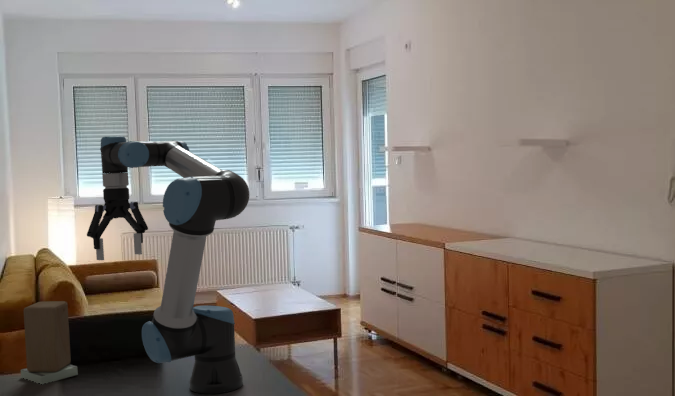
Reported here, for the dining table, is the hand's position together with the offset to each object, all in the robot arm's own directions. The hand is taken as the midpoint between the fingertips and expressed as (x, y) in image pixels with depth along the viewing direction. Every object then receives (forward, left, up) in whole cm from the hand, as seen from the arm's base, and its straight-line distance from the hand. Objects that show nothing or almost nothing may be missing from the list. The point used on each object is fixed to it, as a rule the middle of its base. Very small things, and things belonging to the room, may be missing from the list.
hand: (119, 257), depth 232 cm
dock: (+19, +14, -37) cm, 44 cm away
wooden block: (+19, +14, -34) cm, 42 cm away
